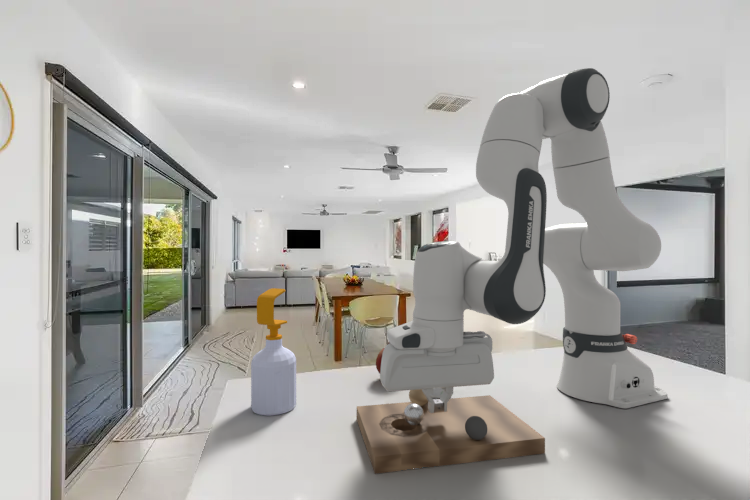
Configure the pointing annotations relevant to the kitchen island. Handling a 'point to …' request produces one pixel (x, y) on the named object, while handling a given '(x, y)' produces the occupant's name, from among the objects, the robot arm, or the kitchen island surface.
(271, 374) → the soap bottle
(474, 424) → the black rubber ball
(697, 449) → the kitchen island surface
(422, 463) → the board
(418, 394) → the beech ball
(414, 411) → the steel ball
